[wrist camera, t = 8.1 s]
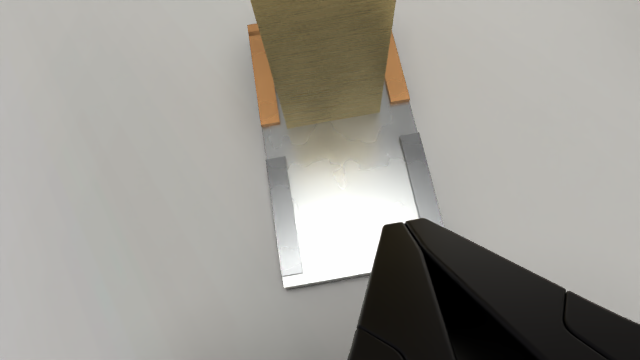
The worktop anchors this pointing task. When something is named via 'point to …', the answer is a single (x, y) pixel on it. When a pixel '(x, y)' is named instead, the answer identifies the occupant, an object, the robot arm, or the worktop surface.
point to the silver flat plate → (341, 178)
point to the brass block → (326, 56)
